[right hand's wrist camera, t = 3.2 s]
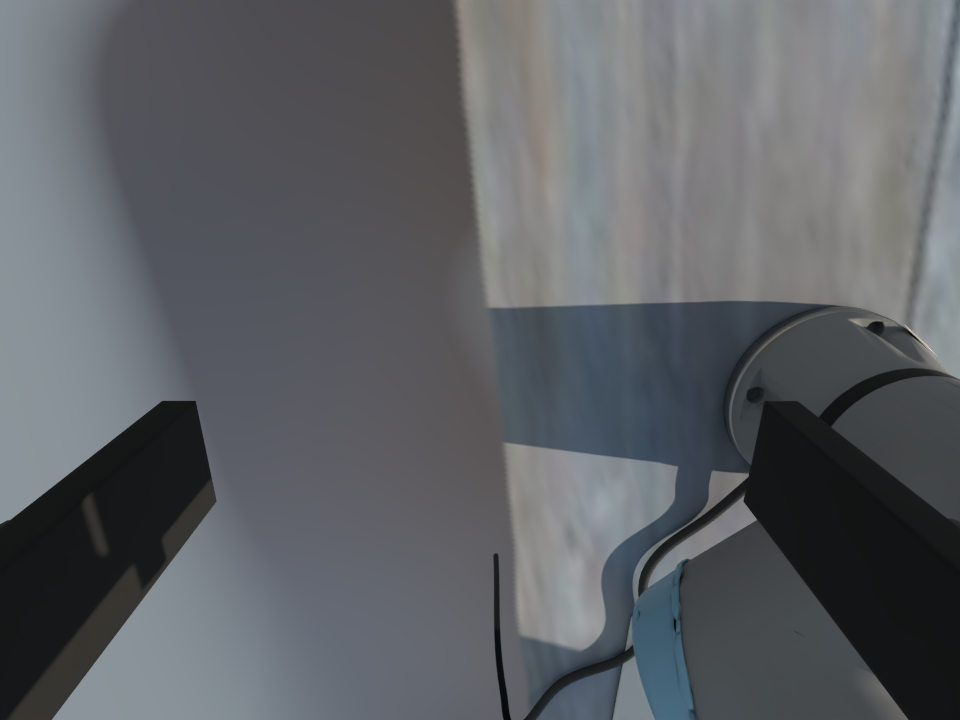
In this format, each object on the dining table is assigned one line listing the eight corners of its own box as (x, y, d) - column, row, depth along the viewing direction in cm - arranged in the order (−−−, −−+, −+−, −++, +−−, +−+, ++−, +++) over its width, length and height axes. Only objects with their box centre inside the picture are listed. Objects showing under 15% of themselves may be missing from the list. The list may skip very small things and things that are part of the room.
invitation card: (631, 618, 52) (787, 625, 52) (631, 616, 52) (785, 623, 52) (604, 768, 59) (740, 775, 59) (603, 766, 60) (739, 772, 60)
